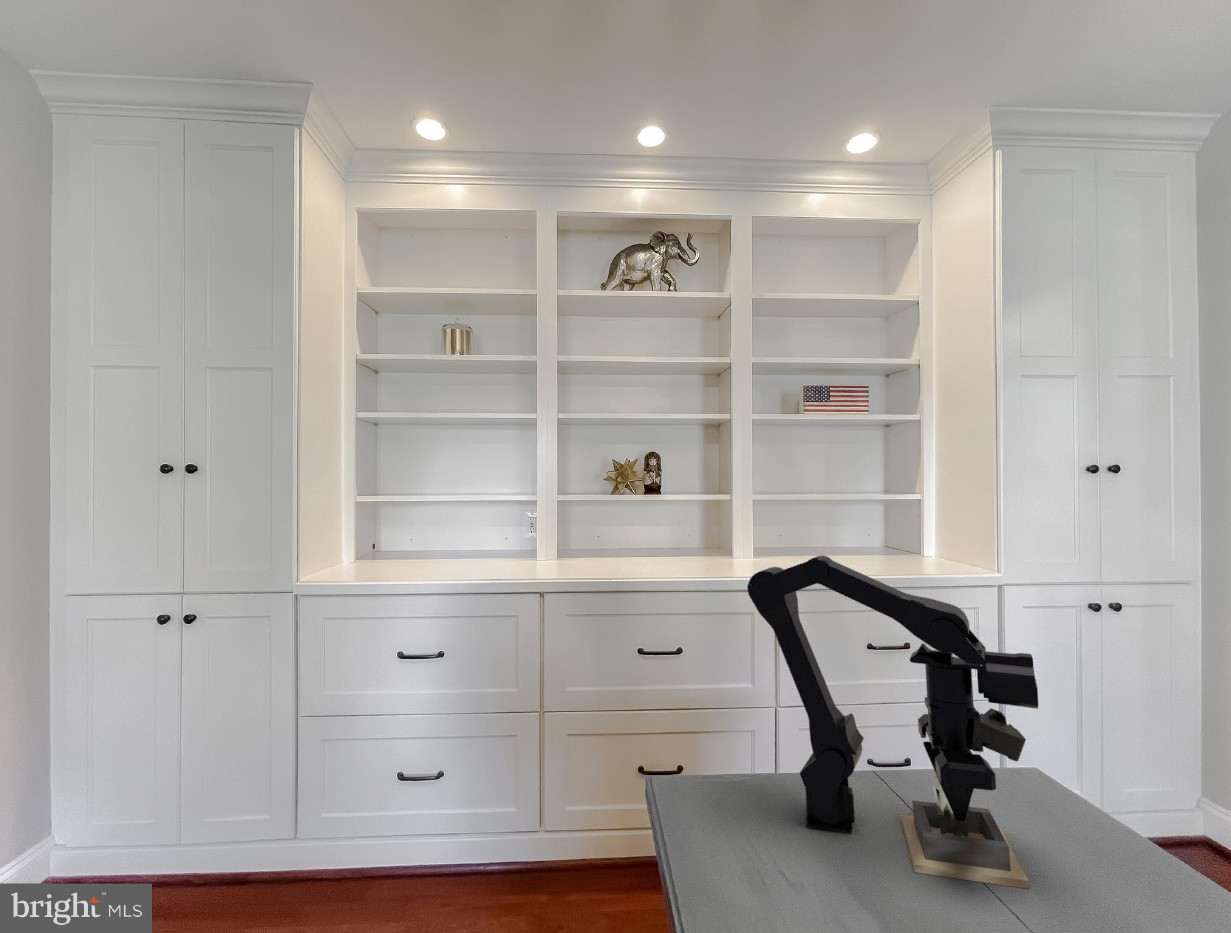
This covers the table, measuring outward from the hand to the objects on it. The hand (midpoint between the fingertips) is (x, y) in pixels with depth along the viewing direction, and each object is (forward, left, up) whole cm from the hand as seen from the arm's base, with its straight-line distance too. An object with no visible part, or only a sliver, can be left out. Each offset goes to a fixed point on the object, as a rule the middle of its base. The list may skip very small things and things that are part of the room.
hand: (956, 811), depth 84 cm
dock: (0, 0, -6) cm, 6 cm away
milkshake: (0, 0, -5) cm, 5 cm away
